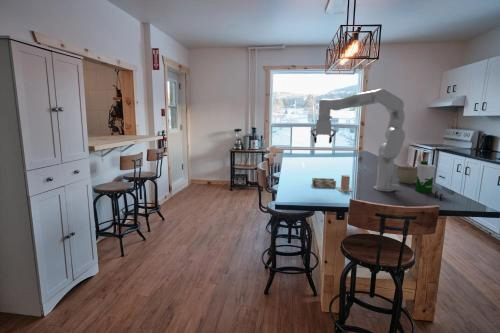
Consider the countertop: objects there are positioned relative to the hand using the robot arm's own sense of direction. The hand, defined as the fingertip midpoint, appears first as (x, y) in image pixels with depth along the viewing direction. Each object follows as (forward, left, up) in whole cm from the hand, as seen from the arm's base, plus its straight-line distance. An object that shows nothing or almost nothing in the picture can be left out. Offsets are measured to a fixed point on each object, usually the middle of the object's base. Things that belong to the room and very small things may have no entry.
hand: (322, 143), depth 200 cm
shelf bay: (-3, -1, -30) cm, 30 cm away
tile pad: (-15, +8, -30) cm, 35 cm away
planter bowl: (-67, -21, -31) cm, 77 cm away
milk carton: (-67, +5, -31) cm, 74 cm away
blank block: (-15, +8, -30) cm, 34 cm away
